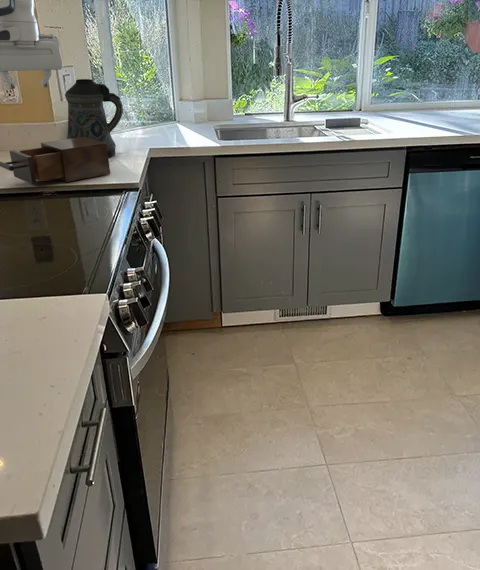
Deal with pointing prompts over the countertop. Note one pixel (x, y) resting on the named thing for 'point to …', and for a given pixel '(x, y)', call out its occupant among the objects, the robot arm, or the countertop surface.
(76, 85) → the dark grey pitcher
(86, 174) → the cabinet
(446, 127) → the countertop surface
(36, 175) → the drawer
